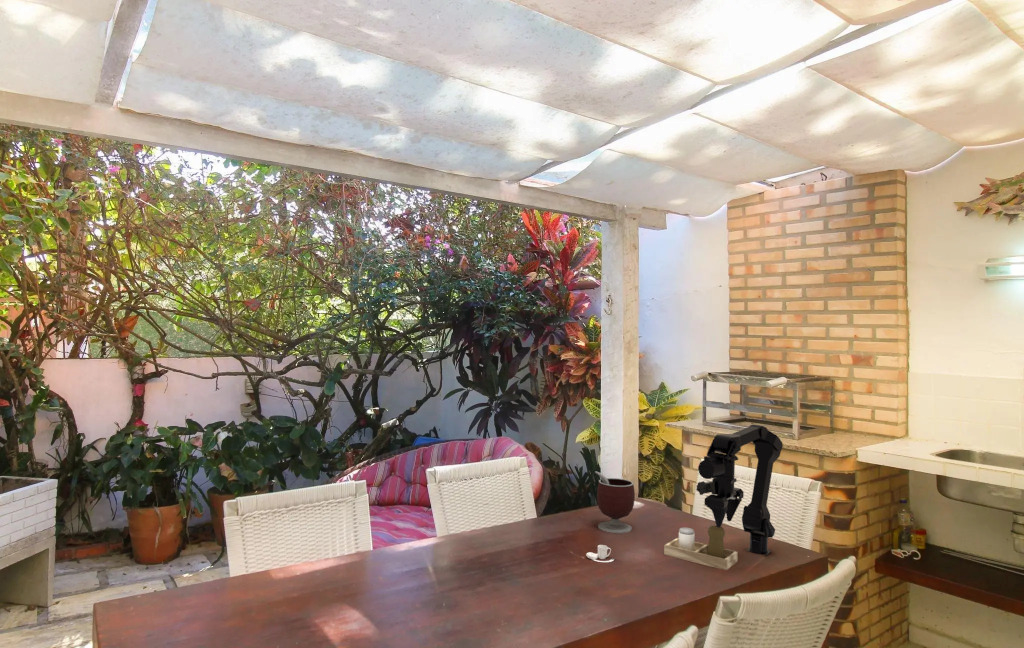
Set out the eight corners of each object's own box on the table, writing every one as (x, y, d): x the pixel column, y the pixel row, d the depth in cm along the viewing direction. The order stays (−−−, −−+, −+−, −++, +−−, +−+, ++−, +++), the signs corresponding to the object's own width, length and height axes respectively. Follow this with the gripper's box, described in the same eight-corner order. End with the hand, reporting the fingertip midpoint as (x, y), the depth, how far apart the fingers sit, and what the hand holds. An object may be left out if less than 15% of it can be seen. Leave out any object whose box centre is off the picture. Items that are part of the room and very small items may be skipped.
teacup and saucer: (584, 560, 204) (584, 547, 204) (590, 553, 211) (591, 540, 211) (611, 565, 200) (611, 552, 200) (617, 557, 208) (617, 544, 208)
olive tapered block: (726, 565, 201) (727, 530, 201) (706, 563, 202) (707, 528, 202) (724, 559, 206) (725, 524, 207) (704, 557, 208) (705, 523, 208)
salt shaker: (681, 550, 213) (682, 526, 214) (696, 554, 210) (696, 529, 211) (675, 554, 210) (676, 529, 210) (690, 557, 206) (691, 533, 207)
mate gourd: (639, 527, 241) (640, 473, 241) (625, 536, 229) (626, 480, 229) (601, 519, 249) (603, 468, 249) (585, 528, 237) (587, 474, 238)
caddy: (677, 548, 217) (677, 537, 217) (737, 562, 205) (737, 551, 205) (664, 556, 209) (664, 545, 209) (726, 572, 197) (726, 560, 197)
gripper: (711, 466, 217) (710, 513, 216) (689, 475, 202) (688, 525, 202) (744, 472, 210) (743, 519, 210) (723, 481, 195) (722, 533, 195)
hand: (723, 524), depth 204 cm, fingers open, 9 cm apart
